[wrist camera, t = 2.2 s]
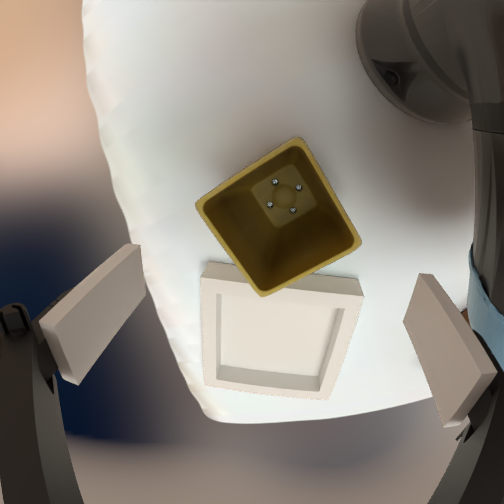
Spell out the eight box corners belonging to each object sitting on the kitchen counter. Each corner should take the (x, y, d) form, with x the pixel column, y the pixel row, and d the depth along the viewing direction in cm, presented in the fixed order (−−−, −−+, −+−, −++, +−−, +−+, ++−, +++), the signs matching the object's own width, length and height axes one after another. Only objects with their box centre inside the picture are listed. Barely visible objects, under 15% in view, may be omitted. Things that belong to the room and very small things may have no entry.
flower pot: (220, 180, 29) (190, 204, 21) (297, 131, 26) (299, 133, 18) (269, 252, 31) (260, 300, 23) (345, 210, 28) (364, 246, 20)
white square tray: (209, 261, 32) (200, 277, 29) (357, 279, 31) (364, 296, 28) (210, 366, 39) (204, 385, 36) (327, 380, 38) (328, 400, 34)
